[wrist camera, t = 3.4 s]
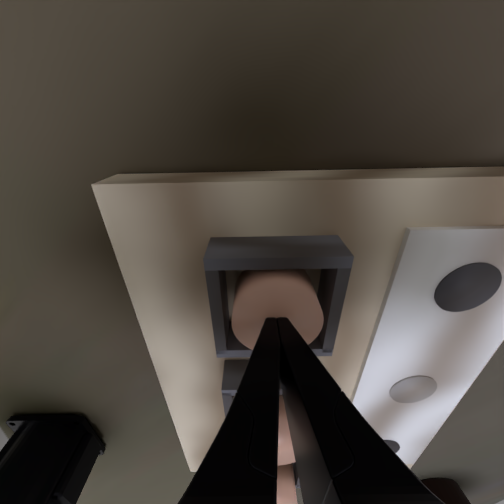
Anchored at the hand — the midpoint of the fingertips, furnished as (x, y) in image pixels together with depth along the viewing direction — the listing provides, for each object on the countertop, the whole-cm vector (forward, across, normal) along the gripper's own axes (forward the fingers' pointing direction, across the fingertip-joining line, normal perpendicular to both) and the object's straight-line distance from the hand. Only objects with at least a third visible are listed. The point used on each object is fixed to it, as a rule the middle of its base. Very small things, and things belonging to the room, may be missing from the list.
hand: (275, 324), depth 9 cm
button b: (+2, 0, 0) cm, 2 cm away
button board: (+4, -3, +8) cm, 10 cm away
